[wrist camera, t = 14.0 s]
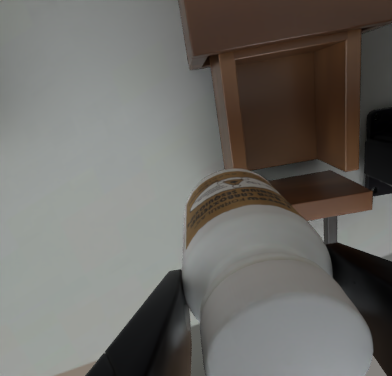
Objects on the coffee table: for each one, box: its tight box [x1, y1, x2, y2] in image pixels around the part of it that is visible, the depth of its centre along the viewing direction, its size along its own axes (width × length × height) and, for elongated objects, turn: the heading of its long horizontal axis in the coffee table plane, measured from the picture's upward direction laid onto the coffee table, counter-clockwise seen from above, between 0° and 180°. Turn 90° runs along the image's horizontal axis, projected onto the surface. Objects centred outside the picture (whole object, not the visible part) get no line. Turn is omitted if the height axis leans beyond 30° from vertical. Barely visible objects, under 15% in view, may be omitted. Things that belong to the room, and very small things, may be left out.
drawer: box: [209, 28, 373, 244], centre depth 17 cm, size 14×8×5 cm, turn 10°
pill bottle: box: [182, 169, 374, 376], centre depth 9 cm, size 4×4×8 cm
